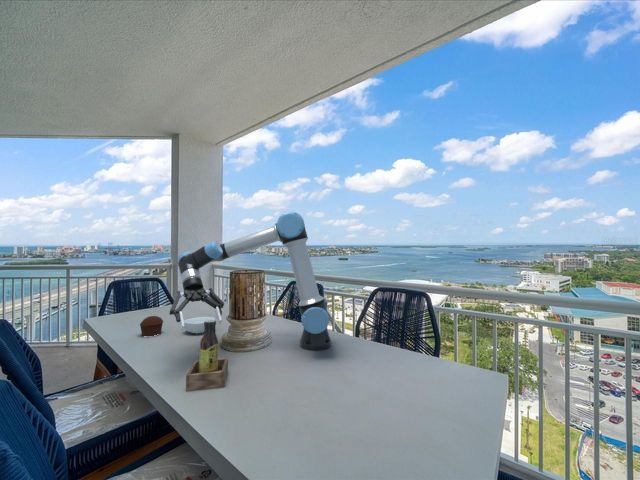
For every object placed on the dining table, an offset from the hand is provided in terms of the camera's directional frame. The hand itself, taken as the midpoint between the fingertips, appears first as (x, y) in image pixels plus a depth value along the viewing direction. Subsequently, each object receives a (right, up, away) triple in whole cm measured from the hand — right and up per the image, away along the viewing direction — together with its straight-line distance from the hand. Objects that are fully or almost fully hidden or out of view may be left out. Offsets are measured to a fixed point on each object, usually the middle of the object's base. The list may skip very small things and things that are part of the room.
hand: (202, 325), depth 107 cm
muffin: (-49, -21, +50) cm, 73 cm away
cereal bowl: (-24, -21, +54) cm, 63 cm away
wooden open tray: (+5, -18, -7) cm, 20 cm away
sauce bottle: (+5, -17, -6) cm, 19 cm away
